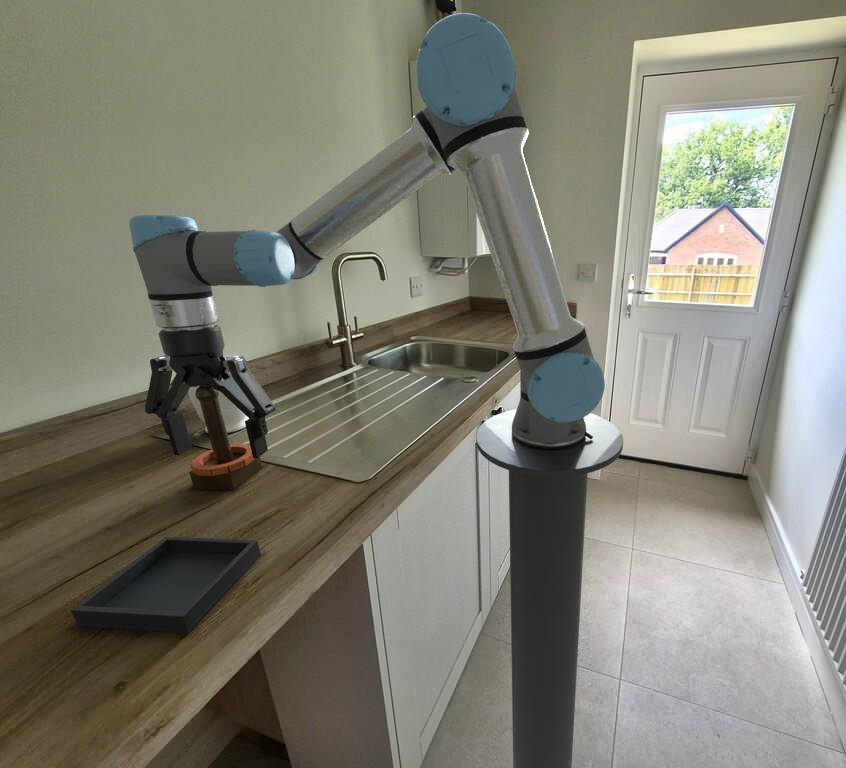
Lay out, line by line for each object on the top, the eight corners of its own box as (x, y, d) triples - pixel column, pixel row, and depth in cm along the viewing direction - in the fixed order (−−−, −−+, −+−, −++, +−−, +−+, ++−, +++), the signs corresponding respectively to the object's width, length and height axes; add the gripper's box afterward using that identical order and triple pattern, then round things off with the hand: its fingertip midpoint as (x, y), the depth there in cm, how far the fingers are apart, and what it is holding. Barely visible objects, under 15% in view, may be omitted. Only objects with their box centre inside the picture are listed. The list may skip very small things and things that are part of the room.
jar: (266, 417, 94) (253, 354, 90) (236, 437, 84) (219, 367, 80) (222, 417, 95) (206, 354, 90) (186, 437, 85) (166, 367, 80)
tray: (261, 555, 52) (257, 540, 51) (188, 633, 41) (182, 616, 41) (171, 550, 53) (166, 536, 52) (77, 627, 42) (69, 610, 41)
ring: (267, 450, 72) (265, 444, 72) (231, 476, 64) (229, 470, 64) (220, 449, 73) (218, 443, 73) (178, 475, 65) (176, 468, 64)
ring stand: (262, 467, 73) (241, 378, 67) (234, 489, 66) (208, 392, 61) (225, 466, 73) (201, 377, 68) (193, 488, 66) (164, 391, 61)
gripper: (86, 330, 59) (130, 461, 65) (251, 332, 57) (279, 466, 64) (135, 321, 66) (171, 440, 72) (284, 323, 64) (306, 444, 71)
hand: (221, 453), depth 68 cm, fingers open, 13 cm apart
